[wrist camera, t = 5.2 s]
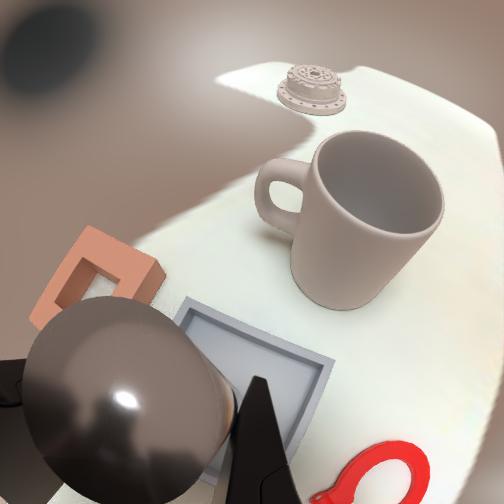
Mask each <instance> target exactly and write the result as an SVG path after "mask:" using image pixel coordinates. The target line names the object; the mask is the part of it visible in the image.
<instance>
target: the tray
mask: <svg viewBox="0 0 504 504" xmlns="http://www.w3.org/2000/svg"><path fill="white" fill-rule="evenodd" d="M173 322H174V323H175V324H176V325H178V326H179V327H180V328H181V329H182V330H183V331H184V333H185V334H186V335H187V336H188V337H189V338H190V339H191V340H192V342H193V343H194V344H195V345H196V346H197V347H198V348H199V349H200V350H201V351H202V353H203V354H204V355H205V356H206V357H207V358H208V359H209V360H210V361H211V362H212V363H213V364H214V365H215V366H216V367H217V368H218V370H219V371H220V372H221V373H222V374H223V375H224V376H225V377H226V378H227V379H228V380H229V381H230V382H231V383H232V384H233V385H234V386H235V387H236V388H237V389H238V390H239V392H240V394H241V396H242V399H243V398H244V395H245V393H246V391H247V388H248V386H249V384H250V381H251V379H252V377H253V376H254V375H257V376H260V377H263V378H265V379H267V382H268V386H269V390H270V394H271V398H272V402H273V406H274V410H275V414H276V418H277V421H278V425H279V429H280V433H281V437H282V441H283V445H284V448H285V452H286V456H287V460H288V465H289V464H290V462H291V460H292V458H293V456H294V454H295V452H296V450H297V448H298V446H299V444H300V442H301V440H302V438H303V436H304V434H305V431H306V429H307V427H308V425H309V423H310V421H311V418H312V416H313V414H314V412H315V409H316V407H317V405H318V402H319V400H320V398H321V395H322V393H323V391H324V388H325V386H326V383H327V381H328V378H329V376H330V373H331V371H332V368H333V365H334V363H335V360H334V359H331V358H328V357H326V356H323V355H321V354H318V353H315V352H313V351H310V350H308V349H305V348H303V347H300V346H298V345H295V344H293V343H290V342H288V341H285V340H283V339H280V338H278V337H276V336H273V335H271V334H269V333H266V332H264V331H262V330H259V329H257V328H255V327H252V326H250V325H248V324H245V323H243V322H241V321H239V320H236V319H234V318H232V317H230V316H228V315H225V314H223V313H221V312H219V311H217V310H214V309H212V308H210V307H208V306H206V305H204V304H202V303H200V302H197V301H195V300H193V299H191V298H189V297H187V296H186V298H185V300H184V302H183V303H182V305H181V307H180V309H179V310H178V312H177V314H176V316H175V318H174V319H173ZM230 434H231V433H230ZM229 437H230V435H229V436H228V438H227V439H226V441H225V442H224V444H223V445H222V446H221V448H220V449H219V451H218V452H217V454H216V455H215V456H214V458H213V459H212V461H211V462H210V463H209V465H208V466H207V467H206V469H205V470H204V472H203V473H202V474H201V476H200V477H199V478H198V479H200V480H202V481H205V482H207V483H209V484H211V485H213V486H216V485H217V481H218V478H219V474H220V470H221V466H222V462H223V459H224V455H225V451H226V447H227V443H228V440H229Z"/></svg>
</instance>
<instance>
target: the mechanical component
mask: <svg viewBox="0 0 504 504" xmlns="http://www.w3.org/2000/svg"><path fill="white" fill-rule="evenodd" d="M336 74H337V73H336V72H332V70H327V68H325V67H324V68H322V67H318V66H315V65H311V66H310V65H303V64H300V66H298V65H295V67H291V69H290V70H289V71H288V75H287V79H285V80H283V81H281V82H280V84H279V85H278V93H277V95H278V98H279V100H280V101H281V102H282V103H283V104H284V105H286V106H288V107H290V108H291V109H293V110H296V111H299V112H302V113H307V114H312V115H332V114H336V113H338V112H340V111H342V110H343V109H344V107H345V104H346V95H345V93H344V92H343V91H342V89H340V86H341V78H339V77H338V76H337V75H336Z"/></svg>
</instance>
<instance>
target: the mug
mask: <svg viewBox="0 0 504 504" xmlns="http://www.w3.org/2000/svg"><path fill="white" fill-rule="evenodd" d="M272 181H283V182H286V183H289V184H291V185H293V186H295V187H297V188H299V189H300V190H301V191H302V192H303V201H302V208H301V212H300V213H293V212H288V211H285V210H282V209H280V208H278V207H277V206H276V205H275V204H274V203H273V202H272V200H271V198H270V194H269V186H270V183H271V182H272ZM254 198H255V205H256V208H257V211H258V213H259V215H260V217H261V218H262V219H263V220H264V221H265V222H267V223H268V224H270V225H271V226H273V227H276V228H278V229H280V230H283V231H285V232H288V233H290V234H292V235H293V236H294V239H293V244H292V248H291V255H290V264H291V270H292V274H293V276H294V279H295V281H296V283H297V285H298V286H299V288H300V289H301V290H302V291H303V293H304V294H305V295H306V296H307V297H309V298H310V299H311V300H312V301H314V302H316V303H317V304H319V305H321V306H324V307H326V308H330V309H334V310H351V309H355V308H358V307H361V306H363V305H365V304H367V303H368V302H370V301H371V300H372V299H373V298H374V297H376V296H377V295H378V293H379V292H380V291H381V290H382V289H383V288H384V287H385V286H386V285H387V284H388V283H389V281H390V280H391V279H392V278H393V277H394V276H395V275H396V274H397V273H398V272H399V271H400V270H401V269H402V268H403V267H404V266H405V265H406V263H407V262H408V261H409V260H410V259H411V258H412V257H413V256H414V255H415V254H416V252H417V251H418V250H419V249H420V248H421V247H422V246H423V244H424V243H425V242H426V241H427V240H428V239H429V237H430V236H431V235H432V234H433V233H434V231H435V230H436V229H437V227H438V226H439V224H440V222H441V220H442V217H443V214H444V207H445V202H444V195H443V191H442V188H441V185H440V183H439V181H438V179H437V177H436V175H435V174H434V172H433V171H432V169H431V168H430V167H429V166H428V164H427V163H426V162H425V161H424V160H423V159H422V158H421V157H420V156H419V155H418V154H416V153H415V152H414V151H413V150H411V149H410V148H408V147H407V146H405V145H404V144H402V143H400V142H398V141H397V140H394V139H392V138H390V137H387V136H385V135H382V134H378V133H374V132H369V131H360V130H352V131H344V132H340V133H337V134H334V135H332V136H330V137H328V138H327V139H325V140H324V141H323V142H322V143H321V144H320V145H319V146H318V148H317V149H316V151H315V153H314V156H313V159H312V162H311V163H306V162H301V161H297V160H293V159H287V158H276V159H272V160H269V161H268V162H266V163H265V164H264V165H263V167H262V168H261V169H260V171H259V173H258V176H257V178H256V182H255V190H254Z"/></svg>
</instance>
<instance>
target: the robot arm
mask: <svg viewBox="0 0 504 504" xmlns="http://www.w3.org/2000/svg"><path fill="white" fill-rule="evenodd" d="M26 360H27V359H16V360H1V361H0V504H7V503H8V504H47V503H48V502H49V500H50V499H51V498H52V497H53V496H54V494H55V493H56V492H57V491H58V490H59V489H60V487H61V486H62V485H63V484H64V483H63V481H62V480H61V479H60V478H59V477H58V476H57V475H56V474H55V473H54V472H53V471H52V470H51V469H50V467H49V466H48V465H47V463H46V462H45V461H44V459H43V458H42V456H41V455H40V453H39V451H38V450H37V448H36V446H35V444H34V442H33V440H32V437H31V435H30V432H29V429H28V426H27V423H26V419H25V415H24V410H23V402H22V381H23V373H24V368H25V364H26ZM212 504H302V502H301V500H300V498H299V495H298V493H297V490H296V487H295V484H294V481H293V478H292V474H291V470H290V467H289V465H288V460H287V456H286V452H285V448H284V445H283V441H282V437H281V433H280V429H279V425H278V421H277V418H276V414H275V410H274V406H273V402H272V398H271V394H270V390H269V386H268V382H267V379H265V378H263V377H260V376H257V375H254V376H253V377H252V379H251V381H250V384H249V386H248V388H247V391H246V393H245V395H244V398H243V401H242V404H241V406H240V409H239V412H238V415H237V418H236V420H235V423H234V426H233V429H232V431H231V434H230V437H229V440H228V443H227V447H226V451H225V455H224V459H223V462H222V466H221V470H220V474H219V478H218V481H217V485H216V489H215V493H214V496H213V500H212Z"/></svg>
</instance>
